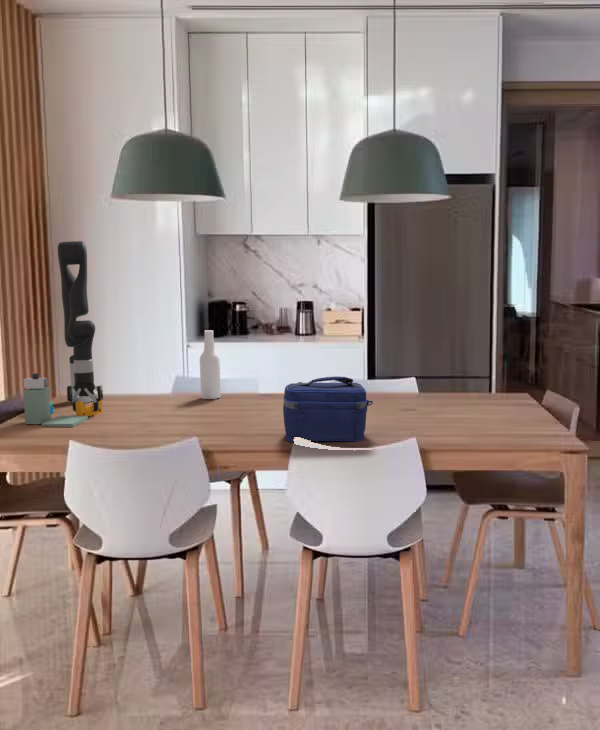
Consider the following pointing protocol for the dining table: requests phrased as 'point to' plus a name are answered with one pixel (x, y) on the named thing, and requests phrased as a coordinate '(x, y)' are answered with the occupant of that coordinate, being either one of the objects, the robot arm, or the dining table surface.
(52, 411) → the gear
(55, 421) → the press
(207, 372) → the alcohol
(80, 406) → the yellow notched block
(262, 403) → the dining table surface
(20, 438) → the dining table surface
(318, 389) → the lunch bag
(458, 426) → the dining table surface
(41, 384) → the grey block
